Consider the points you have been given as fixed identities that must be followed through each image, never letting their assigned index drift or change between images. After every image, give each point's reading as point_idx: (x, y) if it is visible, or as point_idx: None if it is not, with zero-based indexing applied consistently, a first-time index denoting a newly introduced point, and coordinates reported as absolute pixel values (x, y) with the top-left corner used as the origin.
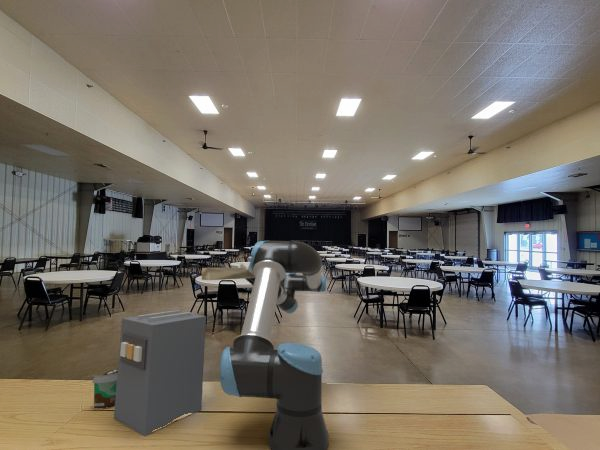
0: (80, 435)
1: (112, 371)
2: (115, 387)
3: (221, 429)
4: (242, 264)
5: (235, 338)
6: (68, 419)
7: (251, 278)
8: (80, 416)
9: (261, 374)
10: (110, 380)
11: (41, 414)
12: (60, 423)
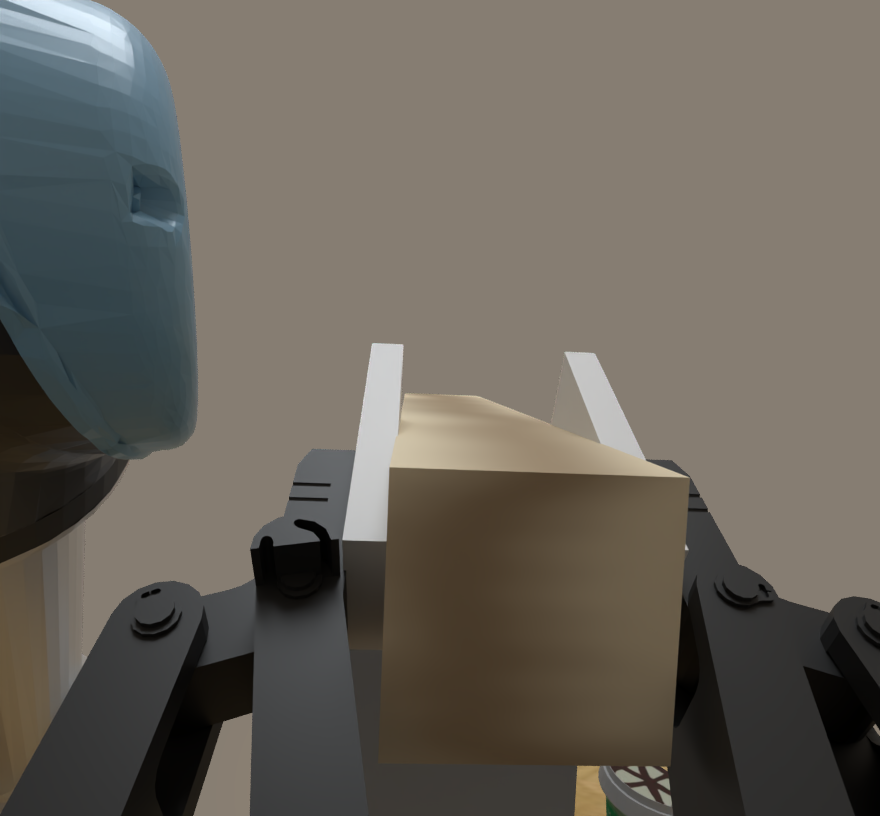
0: None
1: (660, 777)
2: (608, 811)
3: None
4: (570, 376)
5: (86, 658)
6: (591, 787)
7: (676, 780)
8: (591, 804)
9: None
10: (599, 768)
11: (665, 768)
12: (579, 774)
